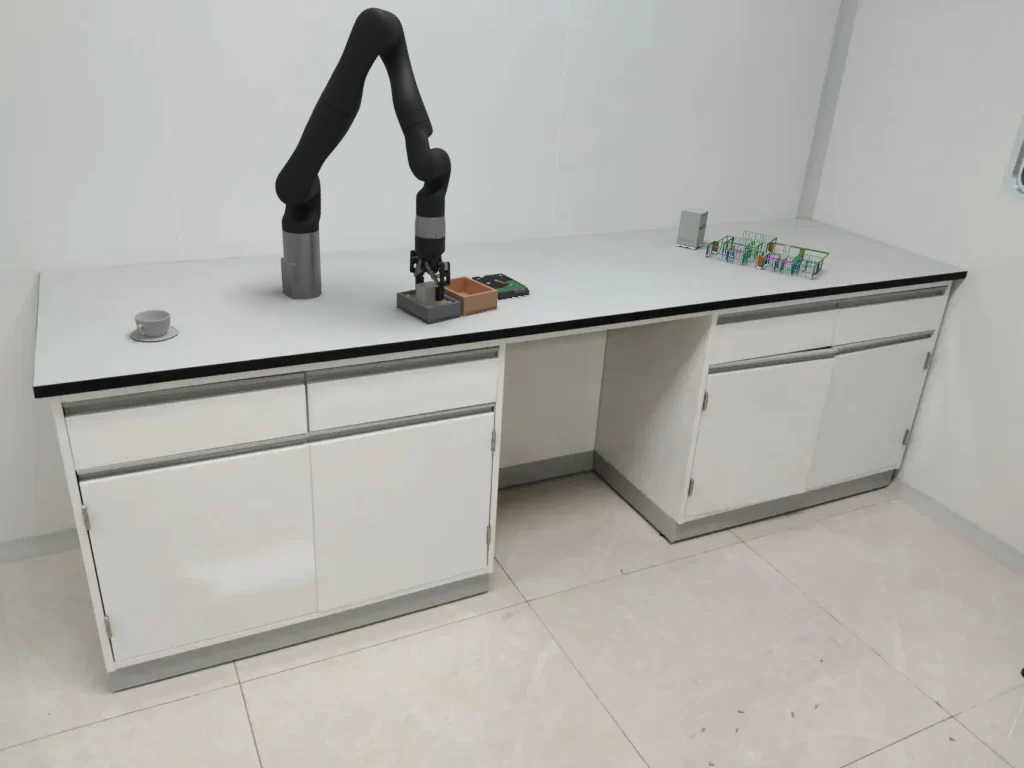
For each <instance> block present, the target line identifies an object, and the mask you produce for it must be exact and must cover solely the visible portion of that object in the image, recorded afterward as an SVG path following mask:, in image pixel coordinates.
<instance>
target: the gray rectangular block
mask: <svg viewBox="0 0 1024 768" xmlns="http://www.w3.org/2000/svg"><path fill="white" fill-rule="evenodd" d="M435 287H436V285H435V283H434V280H430V281H424V283H419V284H416V301H418V302H420V303H422V304H424V305H428V304H433V303H437V302H441V301H436V300H435Z"/></svg>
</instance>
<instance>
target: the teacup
mask: <svg viewBox="0 0 1024 768" xmlns="http://www.w3.org/2000/svg"><path fill="white" fill-rule="evenodd" d="M134 321H135V325H136V329H134V330H133V331H132V332H130V337H131V338H132V339H133V340H137V341H141V342H159V341H164V340H168V339H170V338H174V337H175V336H176V335H178V333H179V329H178V328H177V327H174V326H171V313H170V312H169V311H167V310H163V309H149V310H144V311H140V312H137V313H136V314H135V315H134Z"/></svg>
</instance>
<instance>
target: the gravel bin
mask: <svg viewBox="0 0 1024 768" xmlns="http://www.w3.org/2000/svg"><path fill="white" fill-rule="evenodd" d="M396 308H397V309H398V308H399V310H400V309H401V310H400V311H402V310H403V311H402V312H405V313H406V314H408V315H410V316H411V317H413V316H414V317H413V318H415V317H416V318H415V319H417V318H418V319H417V320H419V319H420V320H419V321H421V320H422V321H421V322H423V323H425V324H426V323H427V325H431V323H432V324H436V323H440V322H439V321H441V322H444V320H445V321H448V319H449V320H452V318H454V319H458V318H461V316H462V315H461V302H460V301H458V300H456V299H454V298H452V297H450V296H447V295H445V294H444V299H443V300H442V301H441V302H437V303H433V304H428V305H424V304H422V303H420V302H418V301H416V290H415V289H409V290H405V291H399V292H396ZM457 317H458V318H457ZM435 322H436V323H435Z"/></svg>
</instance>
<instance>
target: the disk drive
mask: <svg viewBox="0 0 1024 768" xmlns="http://www.w3.org/2000/svg"><path fill="white" fill-rule="evenodd" d="M471 279H473V280H476V281H478V282H480V283H482V284H485V285H487V286H489V287H491V288H494V289H496V290H498V300H497V301H501V299H503V300H508V299H507V298H510V299H513V298H512V297H516V298H519V297H518V296H523V297H525V296H524V295H529V296H530V289H529V288H528V286H526V285H525V284H522V283H521V282H519V281H517V280H515V279H513V278H511V277H510V276H508V275H507V274H504V273H501V272H500V273H494V274H493V273H492V274H486V275H483V276H482V277H481V276H479V275H478V276H472V277H471Z"/></svg>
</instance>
